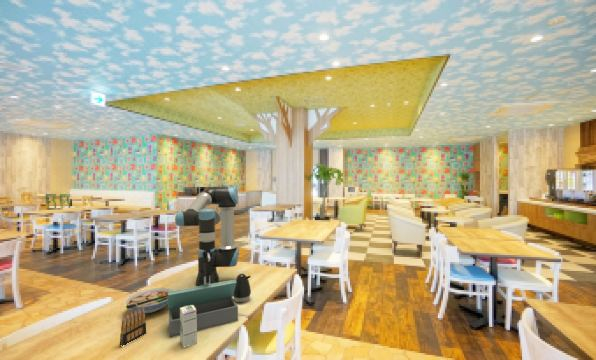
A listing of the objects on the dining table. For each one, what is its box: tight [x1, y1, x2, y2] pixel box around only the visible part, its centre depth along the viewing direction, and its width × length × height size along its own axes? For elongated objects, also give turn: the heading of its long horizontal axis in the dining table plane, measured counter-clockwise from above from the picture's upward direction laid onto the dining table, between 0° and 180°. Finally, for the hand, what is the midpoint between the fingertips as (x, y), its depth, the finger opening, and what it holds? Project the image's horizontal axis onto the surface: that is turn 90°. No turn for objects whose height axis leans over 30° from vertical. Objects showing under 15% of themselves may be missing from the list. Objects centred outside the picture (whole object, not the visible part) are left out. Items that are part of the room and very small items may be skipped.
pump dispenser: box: [232, 273, 252, 303], centre depth 153 cm, size 10×10×15 cm
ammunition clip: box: [119, 308, 147, 346], centre depth 116 cm, size 11×2×12 cm, turn 157°
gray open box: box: [168, 297, 239, 338], centre depth 129 cm, size 12×30×7 cm, turn 118°
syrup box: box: [179, 305, 198, 348], centre depth 113 cm, size 6×6×14 cm
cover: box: [167, 278, 236, 311], centre depth 132 cm, size 13×31×2 cm
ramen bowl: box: [125, 287, 174, 314], centre depth 142 cm, size 25×23×8 cm
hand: (207, 288), depth 132 cm, fingers closed
